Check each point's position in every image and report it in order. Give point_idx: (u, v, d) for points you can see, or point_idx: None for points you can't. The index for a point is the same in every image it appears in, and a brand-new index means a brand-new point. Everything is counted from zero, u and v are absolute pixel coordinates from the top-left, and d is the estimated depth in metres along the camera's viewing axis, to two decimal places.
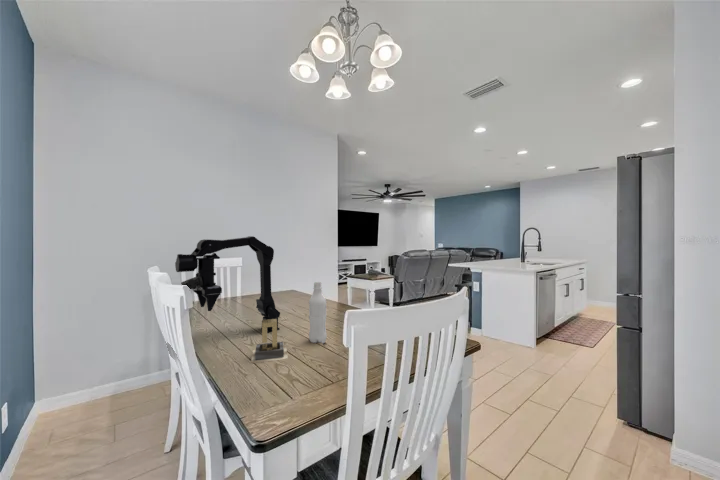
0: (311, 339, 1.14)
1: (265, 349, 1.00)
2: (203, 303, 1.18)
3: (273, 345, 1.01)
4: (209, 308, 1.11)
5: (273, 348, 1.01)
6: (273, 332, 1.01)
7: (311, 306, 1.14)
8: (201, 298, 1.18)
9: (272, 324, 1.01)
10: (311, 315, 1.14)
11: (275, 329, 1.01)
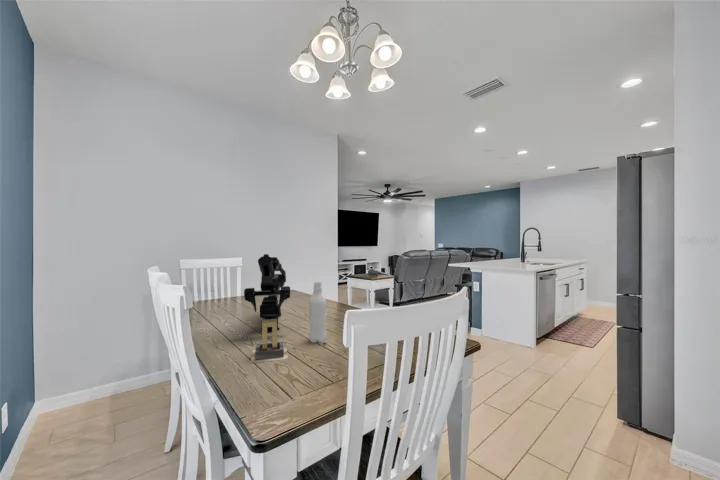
0: (311, 339, 1.14)
1: (265, 349, 1.00)
2: None
3: (273, 345, 1.01)
4: (280, 307, 1.19)
5: (273, 348, 1.01)
6: (273, 332, 1.01)
7: (311, 306, 1.14)
8: None
9: (272, 324, 1.01)
10: (311, 315, 1.14)
11: (275, 329, 1.01)
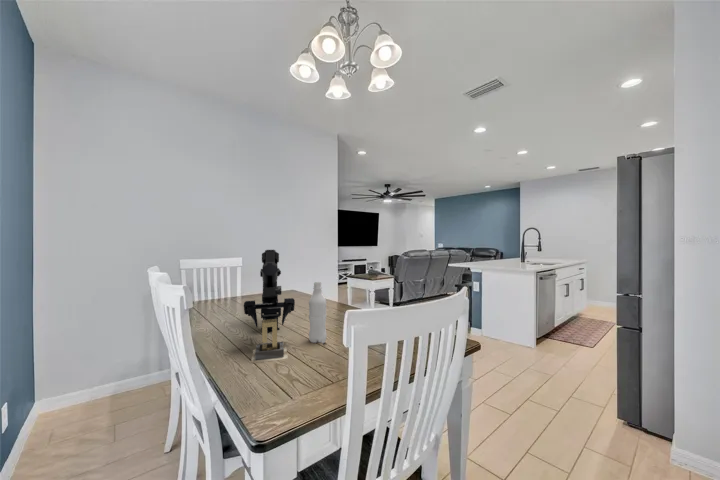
0: (311, 339, 1.14)
1: (265, 349, 1.00)
2: None
3: (273, 345, 1.01)
4: (283, 322, 1.08)
5: (273, 348, 1.01)
6: (273, 332, 1.01)
7: (311, 306, 1.14)
8: None
9: (272, 324, 1.01)
10: (311, 315, 1.14)
11: (275, 329, 1.01)
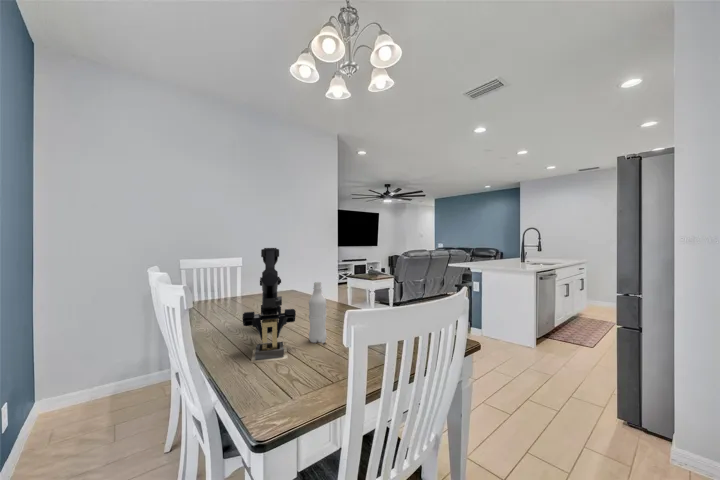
0: (311, 339, 1.14)
1: (265, 349, 1.00)
2: None
3: (273, 345, 1.01)
4: (278, 334, 1.03)
5: (273, 348, 1.01)
6: (273, 332, 1.01)
7: (311, 306, 1.14)
8: None
9: (272, 324, 1.01)
10: (311, 315, 1.14)
11: (275, 329, 1.01)
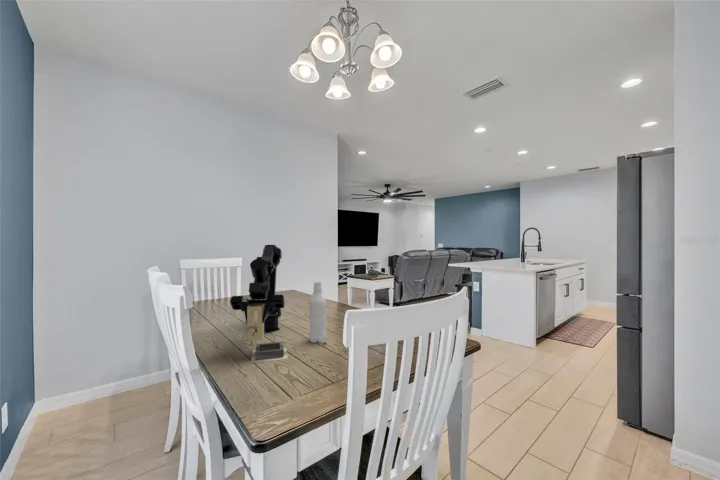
0: (311, 339, 1.14)
1: (250, 333, 1.00)
2: None
3: (258, 330, 1.00)
4: (264, 319, 1.02)
5: (258, 333, 1.00)
6: (258, 316, 1.00)
7: (311, 306, 1.15)
8: None
9: (257, 308, 1.00)
10: (311, 315, 1.15)
11: (260, 313, 1.00)
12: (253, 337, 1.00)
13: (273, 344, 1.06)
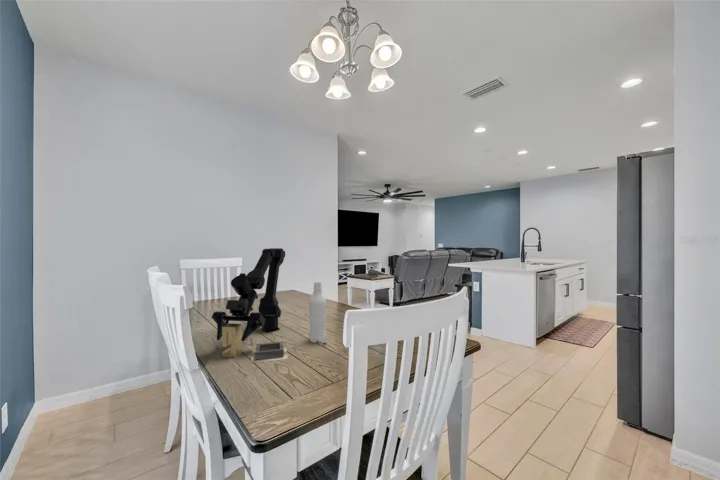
0: (311, 339, 1.14)
1: (225, 353, 1.01)
2: (220, 336, 1.03)
3: (232, 350, 1.00)
4: (244, 338, 1.01)
5: (232, 353, 1.00)
6: (232, 337, 1.00)
7: (311, 306, 1.14)
8: (220, 330, 1.04)
9: (231, 329, 1.00)
10: (311, 315, 1.14)
11: (234, 334, 1.00)
12: None
13: (273, 344, 1.06)
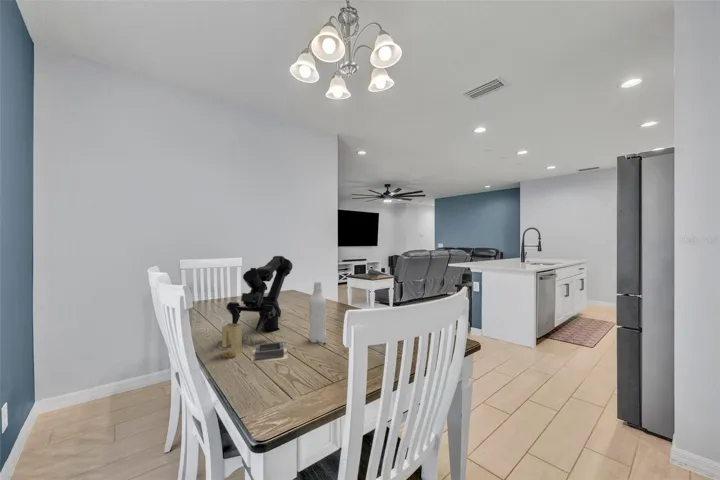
0: (311, 339, 1.14)
1: (225, 353, 1.01)
2: None
3: (232, 350, 1.00)
4: (258, 328, 1.11)
5: (232, 353, 1.00)
6: (232, 337, 1.00)
7: (311, 306, 1.14)
8: (235, 320, 1.13)
9: (231, 329, 1.00)
10: (311, 315, 1.14)
11: (234, 334, 1.00)
12: None
13: (273, 344, 1.06)
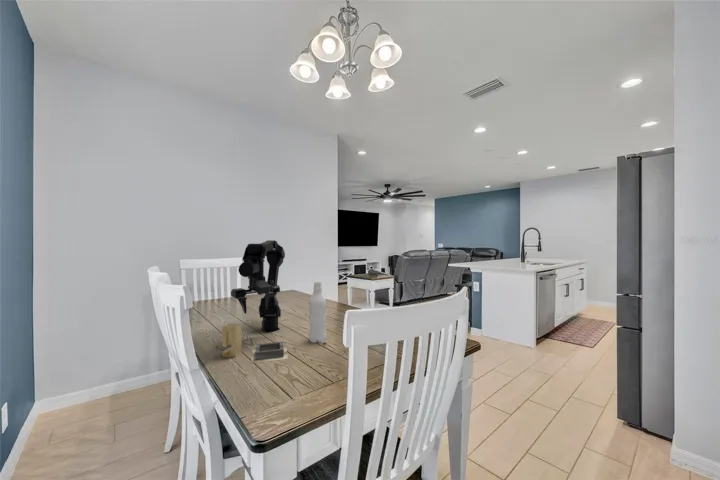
0: (311, 339, 1.14)
1: (225, 353, 1.01)
2: None
3: (232, 350, 1.00)
4: None
5: (232, 353, 1.00)
6: (232, 337, 1.00)
7: (311, 306, 1.14)
8: None
9: (231, 329, 1.00)
10: (311, 315, 1.14)
11: (234, 334, 1.00)
12: None
13: (273, 344, 1.06)
